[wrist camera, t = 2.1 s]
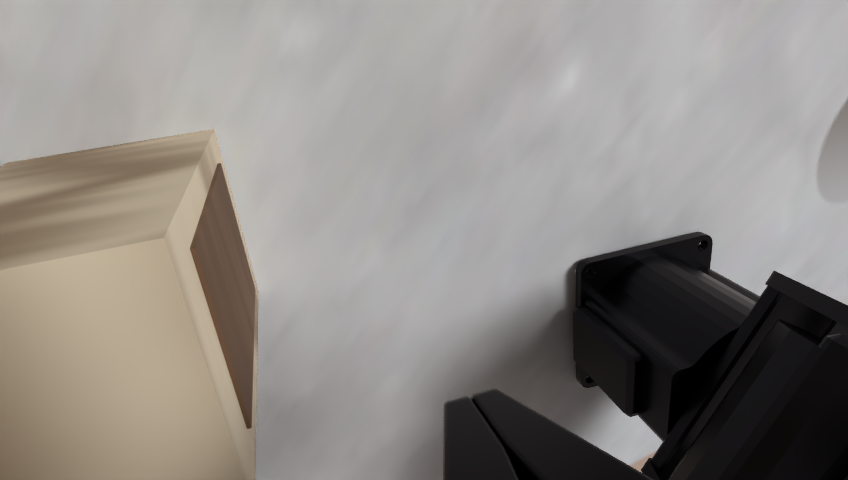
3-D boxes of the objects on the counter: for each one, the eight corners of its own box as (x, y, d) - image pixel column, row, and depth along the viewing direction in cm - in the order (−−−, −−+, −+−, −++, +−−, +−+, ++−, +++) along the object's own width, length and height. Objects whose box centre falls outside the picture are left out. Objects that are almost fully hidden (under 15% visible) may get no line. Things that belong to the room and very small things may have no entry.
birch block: (217, 128, 18) (170, 236, 9) (261, 290, 20) (259, 508, 11) (7, 162, 16) (-303, 329, 7) (81, 331, 19) (-87, 613, 10)
